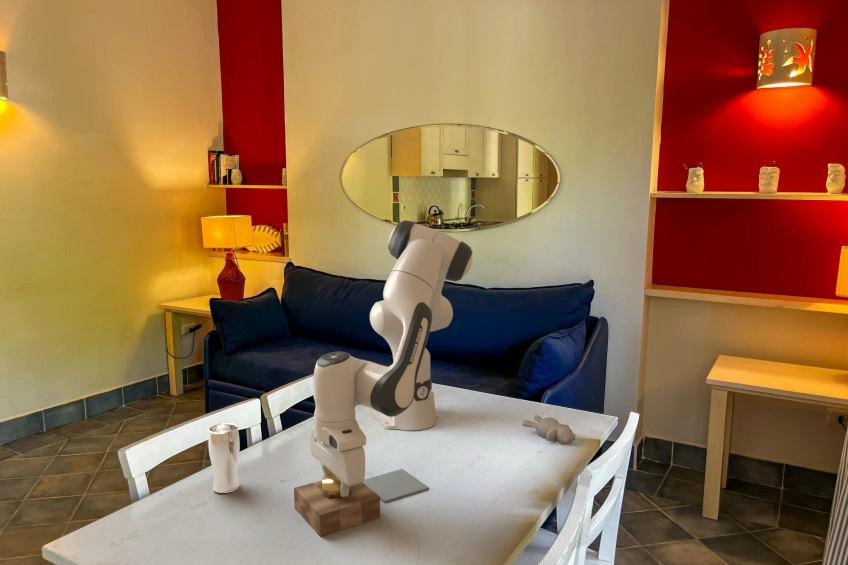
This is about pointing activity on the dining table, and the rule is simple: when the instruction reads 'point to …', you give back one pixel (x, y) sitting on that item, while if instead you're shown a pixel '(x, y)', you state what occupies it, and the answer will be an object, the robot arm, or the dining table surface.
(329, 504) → the walnut block
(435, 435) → the dining table surface
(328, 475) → the brass knob
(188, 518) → the dining table surface
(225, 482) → the beer glass
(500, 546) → the dining table surface
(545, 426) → the bunny figurine
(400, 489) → the rubber mat
